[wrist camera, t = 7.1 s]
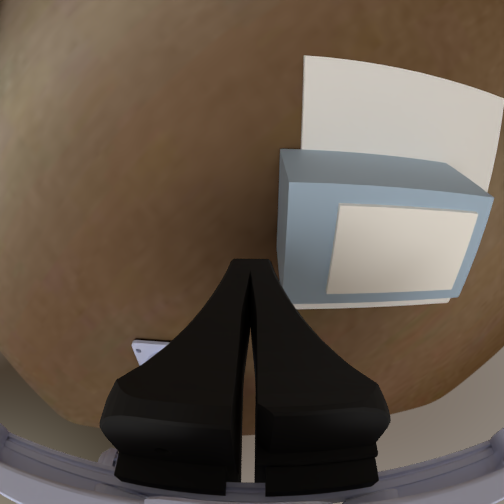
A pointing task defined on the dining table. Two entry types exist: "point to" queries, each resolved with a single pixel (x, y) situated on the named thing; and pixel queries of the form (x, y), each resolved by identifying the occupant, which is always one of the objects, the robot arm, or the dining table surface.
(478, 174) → the mat
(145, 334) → the dining table surface
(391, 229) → the block
